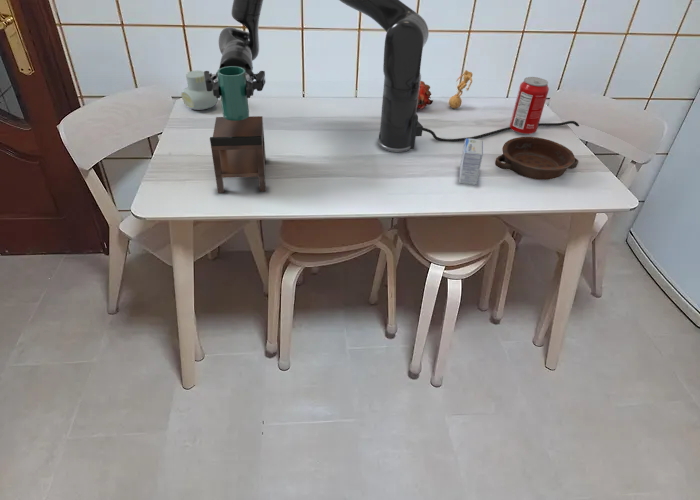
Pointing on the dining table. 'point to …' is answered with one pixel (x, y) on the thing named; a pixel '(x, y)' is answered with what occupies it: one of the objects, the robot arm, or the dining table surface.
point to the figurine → (460, 90)
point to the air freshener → (197, 92)
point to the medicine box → (471, 161)
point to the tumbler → (233, 93)
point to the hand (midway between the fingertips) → (232, 93)
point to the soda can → (529, 105)
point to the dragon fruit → (424, 96)
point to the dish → (536, 158)
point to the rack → (238, 150)
